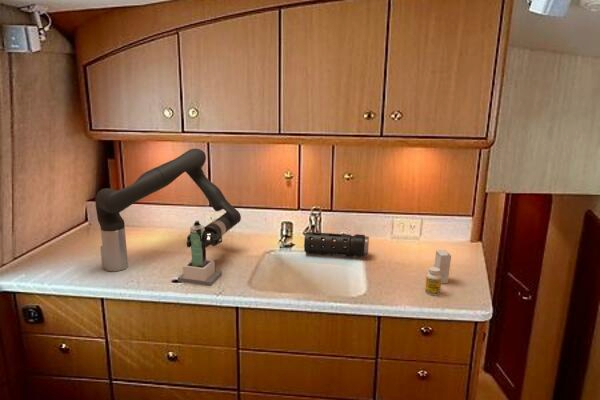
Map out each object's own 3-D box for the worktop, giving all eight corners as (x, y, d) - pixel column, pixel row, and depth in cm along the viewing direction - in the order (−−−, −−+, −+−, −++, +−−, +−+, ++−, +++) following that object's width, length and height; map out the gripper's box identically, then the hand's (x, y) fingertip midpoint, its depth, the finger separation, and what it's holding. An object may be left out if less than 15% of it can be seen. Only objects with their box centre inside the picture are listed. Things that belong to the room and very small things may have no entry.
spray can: (209, 269, 194) (207, 221, 188) (198, 273, 190) (195, 224, 185) (200, 265, 197) (198, 218, 192) (189, 269, 194) (186, 221, 188)
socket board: (177, 281, 192) (176, 265, 190) (190, 271, 202) (189, 256, 200) (210, 285, 188) (210, 270, 187) (221, 275, 198) (221, 260, 196)
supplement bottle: (439, 290, 187) (441, 266, 184) (440, 296, 182) (443, 272, 179) (424, 289, 188) (426, 265, 185) (425, 295, 183) (427, 271, 180)
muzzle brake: (306, 249, 227) (307, 228, 224) (368, 253, 223) (369, 232, 220) (303, 257, 218) (304, 235, 215) (367, 261, 214) (368, 239, 211)
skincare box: (432, 277, 198) (434, 249, 195) (443, 277, 198) (445, 249, 195) (437, 284, 192) (440, 255, 189) (448, 283, 193) (451, 254, 189)
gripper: (197, 221, 205) (177, 234, 189) (229, 224, 201) (212, 238, 186) (198, 238, 207) (178, 253, 191) (230, 241, 203) (212, 256, 188)
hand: (195, 245), depth 188 cm, fingers closed on spray can, 5 cm apart
